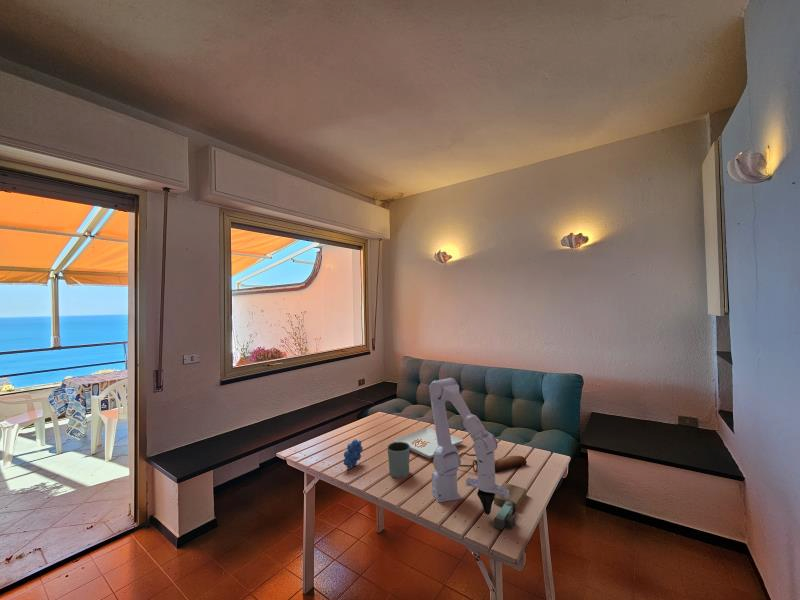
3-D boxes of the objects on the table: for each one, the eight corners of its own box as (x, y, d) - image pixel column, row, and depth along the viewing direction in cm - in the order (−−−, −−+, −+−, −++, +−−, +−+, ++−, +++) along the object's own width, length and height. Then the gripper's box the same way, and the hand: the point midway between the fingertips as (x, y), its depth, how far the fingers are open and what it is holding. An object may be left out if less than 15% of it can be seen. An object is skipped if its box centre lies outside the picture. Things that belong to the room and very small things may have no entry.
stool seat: (530, 496, 120) (530, 489, 120) (511, 529, 102) (511, 521, 102) (505, 488, 126) (504, 482, 126) (482, 519, 108) (482, 511, 108)
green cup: (405, 466, 147) (405, 440, 147) (414, 476, 137) (413, 448, 138) (384, 471, 143) (384, 443, 144) (392, 481, 134) (391, 452, 134)
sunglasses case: (513, 457, 153) (518, 447, 150) (523, 470, 147) (528, 461, 144) (482, 465, 146) (487, 455, 143) (491, 479, 141) (496, 469, 138)
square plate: (392, 446, 171) (392, 439, 171) (427, 433, 189) (427, 426, 189) (430, 463, 151) (429, 454, 151) (464, 446, 169) (464, 438, 169)
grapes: (355, 459, 156) (355, 434, 156) (366, 463, 152) (365, 437, 152) (337, 468, 146) (337, 442, 147) (347, 473, 142) (347, 445, 143)
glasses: (475, 474, 139) (474, 463, 139) (447, 467, 146) (446, 456, 146) (484, 462, 150) (483, 451, 150) (458, 456, 157) (457, 446, 157)
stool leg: (506, 507, 113) (506, 500, 113) (514, 510, 112) (513, 502, 112) (494, 527, 103) (493, 518, 103) (502, 530, 102) (501, 521, 102)
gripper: (511, 472, 107) (513, 514, 107) (471, 461, 116) (472, 500, 115) (504, 481, 102) (506, 525, 101) (462, 469, 110) (464, 509, 110)
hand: (487, 512), depth 108 cm, fingers closed
